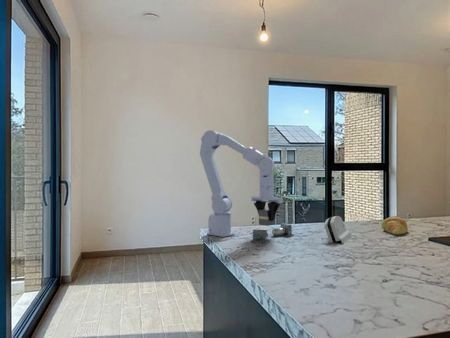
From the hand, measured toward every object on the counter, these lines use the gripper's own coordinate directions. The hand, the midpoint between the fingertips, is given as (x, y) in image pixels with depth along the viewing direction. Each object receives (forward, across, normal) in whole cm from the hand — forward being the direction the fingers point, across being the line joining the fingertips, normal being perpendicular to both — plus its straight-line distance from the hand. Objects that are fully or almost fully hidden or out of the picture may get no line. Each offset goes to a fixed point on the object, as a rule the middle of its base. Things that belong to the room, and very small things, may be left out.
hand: (266, 219), depth 147 cm
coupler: (+2, 0, 0) cm, 2 cm away
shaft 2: (+7, +2, +7) cm, 10 cm away
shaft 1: (+7, +2, -7) cm, 10 cm away
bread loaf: (+8, +34, +46) cm, 58 cm away
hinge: (+7, +23, +15) cm, 29 cm away
